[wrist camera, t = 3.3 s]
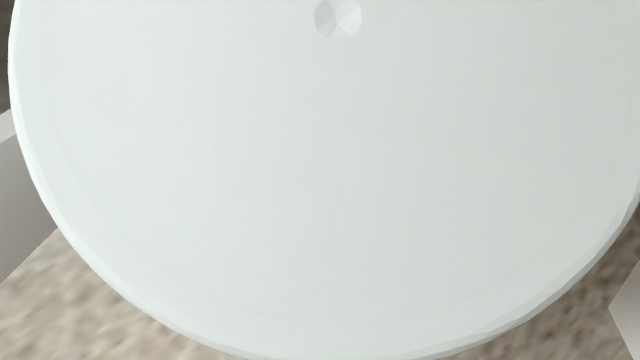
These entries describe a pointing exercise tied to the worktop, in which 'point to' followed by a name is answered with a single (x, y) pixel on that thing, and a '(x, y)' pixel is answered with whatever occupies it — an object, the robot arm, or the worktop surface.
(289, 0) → the supplement tub
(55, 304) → the worktop surface
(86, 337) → the worktop surface
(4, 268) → the robot arm
